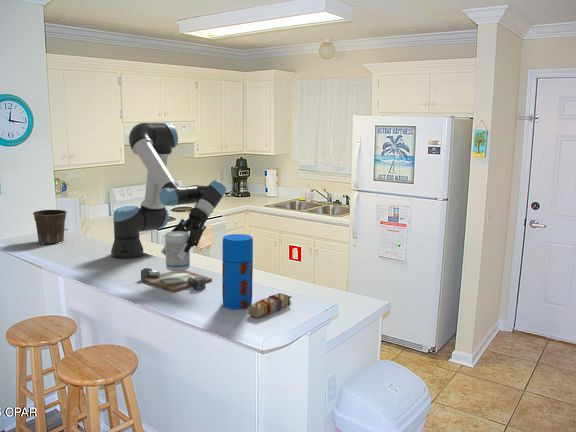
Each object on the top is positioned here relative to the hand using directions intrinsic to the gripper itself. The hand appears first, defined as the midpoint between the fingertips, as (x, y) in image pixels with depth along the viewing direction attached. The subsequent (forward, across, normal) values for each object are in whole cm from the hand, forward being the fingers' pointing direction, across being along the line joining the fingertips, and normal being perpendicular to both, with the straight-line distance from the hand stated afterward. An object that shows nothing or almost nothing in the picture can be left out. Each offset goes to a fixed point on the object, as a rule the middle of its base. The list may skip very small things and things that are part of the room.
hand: (171, 255), depth 209 cm
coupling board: (+6, 0, -10) cm, 12 cm away
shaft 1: (+10, +10, -6) cm, 16 cm away
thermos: (+8, -37, -9) cm, 38 cm away
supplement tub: (+2, 0, -6) cm, 7 cm away
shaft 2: (+6, -11, -10) cm, 16 cm away
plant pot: (+8, +101, -8) cm, 102 cm away
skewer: (+5, -50, -13) cm, 51 cm away
